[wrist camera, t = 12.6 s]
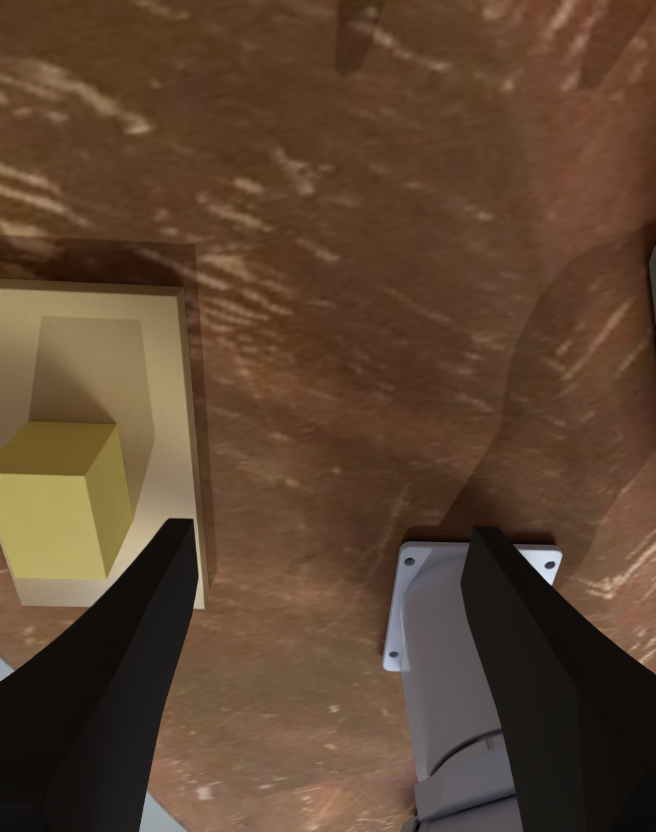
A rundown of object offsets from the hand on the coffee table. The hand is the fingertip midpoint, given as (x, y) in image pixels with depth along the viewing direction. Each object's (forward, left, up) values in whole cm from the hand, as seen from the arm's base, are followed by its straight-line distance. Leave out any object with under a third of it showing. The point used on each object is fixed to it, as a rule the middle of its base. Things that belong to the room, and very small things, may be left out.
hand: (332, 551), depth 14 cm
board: (-4, +10, -9) cm, 14 cm away
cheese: (-4, +10, -8) cm, 13 cm away
